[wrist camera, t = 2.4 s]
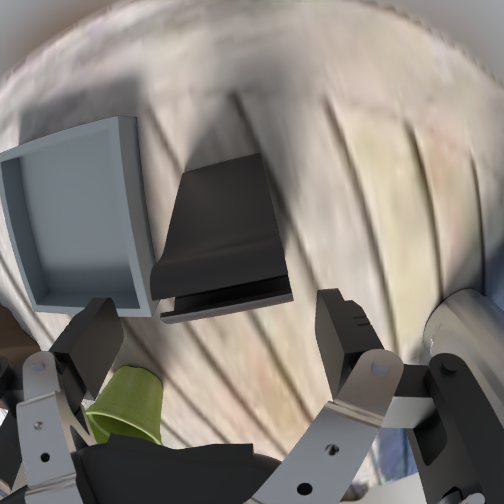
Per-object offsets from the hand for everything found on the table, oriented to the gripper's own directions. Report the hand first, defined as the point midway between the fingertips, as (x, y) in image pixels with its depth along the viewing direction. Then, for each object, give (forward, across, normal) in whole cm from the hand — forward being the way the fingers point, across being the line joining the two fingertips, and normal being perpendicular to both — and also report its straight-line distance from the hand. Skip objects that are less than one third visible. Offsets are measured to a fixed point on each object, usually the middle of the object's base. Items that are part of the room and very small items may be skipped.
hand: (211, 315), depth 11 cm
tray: (+14, +14, -1) cm, 19 cm away
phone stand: (+14, 0, 0) cm, 14 cm away
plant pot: (+14, +13, +19) cm, 27 cm away
